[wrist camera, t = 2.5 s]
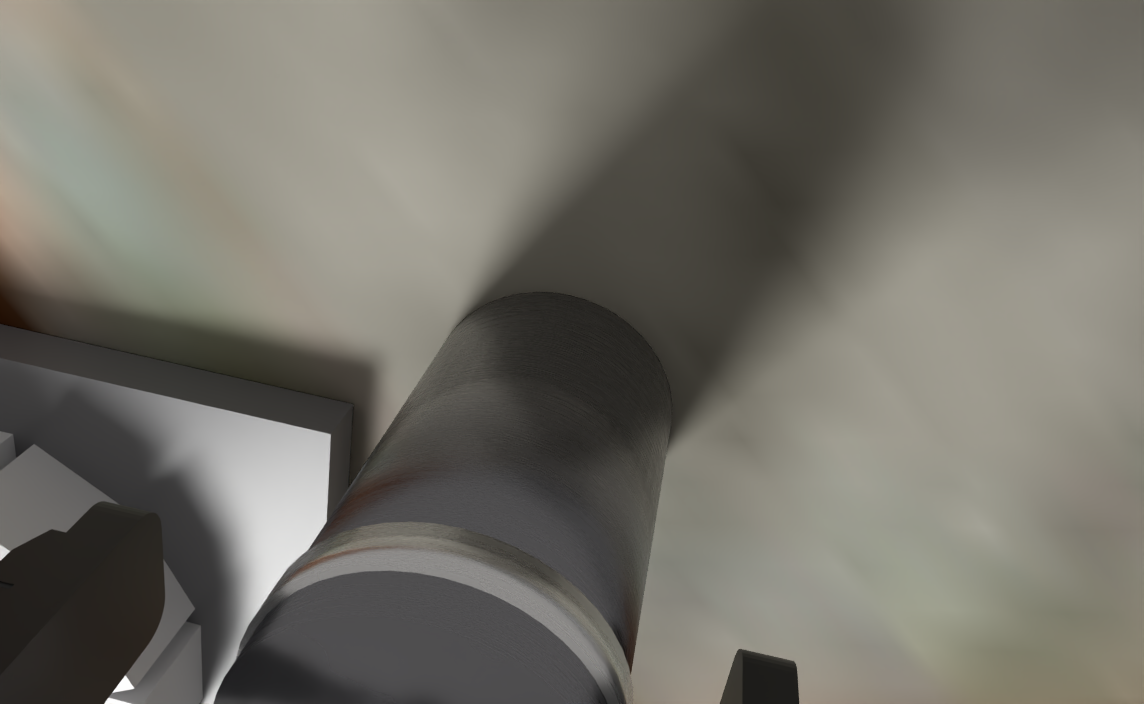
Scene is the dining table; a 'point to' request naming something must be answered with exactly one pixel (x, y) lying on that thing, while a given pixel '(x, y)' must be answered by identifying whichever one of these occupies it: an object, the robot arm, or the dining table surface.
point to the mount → (171, 485)
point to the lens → (484, 529)
